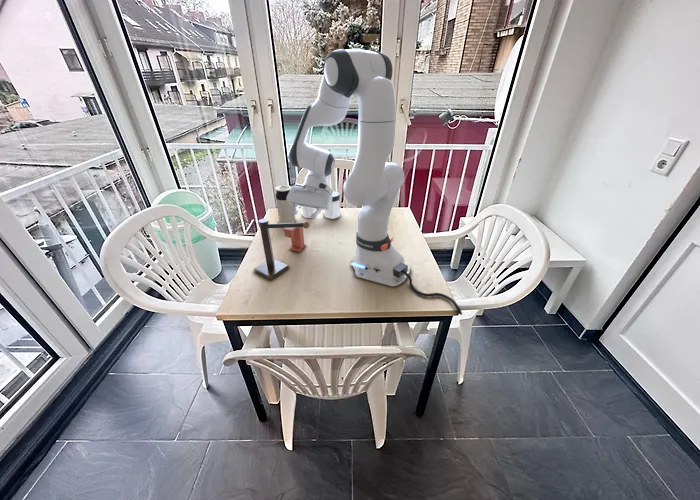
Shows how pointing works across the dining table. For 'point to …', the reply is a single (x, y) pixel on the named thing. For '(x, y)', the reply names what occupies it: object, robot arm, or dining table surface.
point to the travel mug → (284, 204)
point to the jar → (334, 207)
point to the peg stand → (271, 265)
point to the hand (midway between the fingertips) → (303, 215)
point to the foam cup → (307, 211)
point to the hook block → (295, 237)
